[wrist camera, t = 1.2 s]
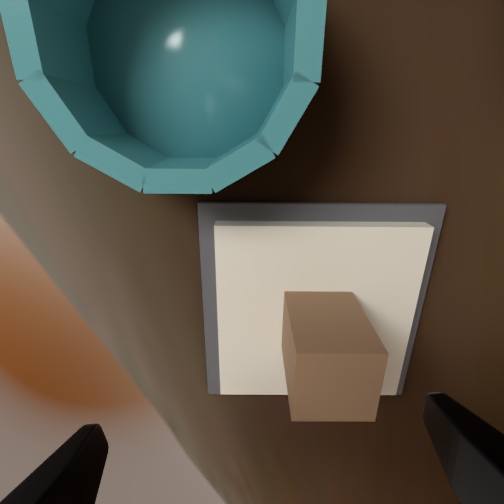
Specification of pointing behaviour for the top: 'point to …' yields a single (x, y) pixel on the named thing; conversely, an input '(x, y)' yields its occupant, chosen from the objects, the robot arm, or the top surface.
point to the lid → (317, 311)
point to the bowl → (169, 82)
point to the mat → (302, 212)
